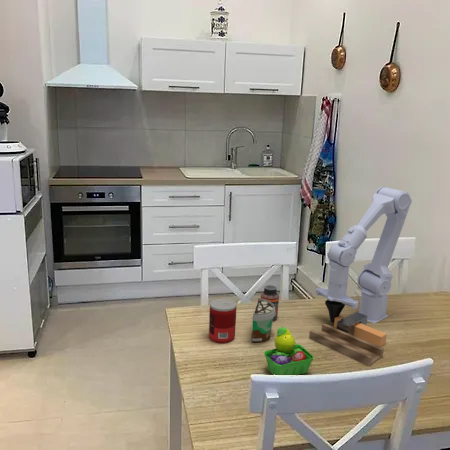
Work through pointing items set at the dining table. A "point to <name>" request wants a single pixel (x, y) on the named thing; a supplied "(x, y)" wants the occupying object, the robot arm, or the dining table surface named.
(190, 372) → the dining table surface
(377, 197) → the robot arm
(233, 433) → the dining table surface
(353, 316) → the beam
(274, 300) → the supplement bottle
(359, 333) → the shaft
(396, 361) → the dining table surface
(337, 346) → the tray
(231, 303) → the canned food
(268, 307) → the food container
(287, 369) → the fruit basket
